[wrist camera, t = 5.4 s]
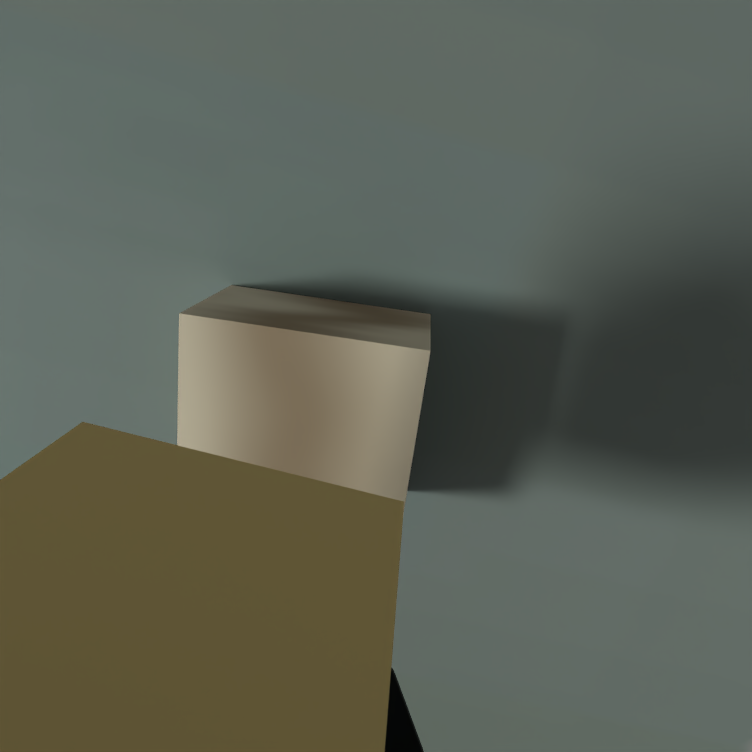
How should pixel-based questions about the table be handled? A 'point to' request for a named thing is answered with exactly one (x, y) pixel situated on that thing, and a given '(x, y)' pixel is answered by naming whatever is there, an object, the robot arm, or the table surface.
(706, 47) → the table surface
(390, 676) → the robot arm
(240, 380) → the birch base block
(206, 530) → the ochre block
